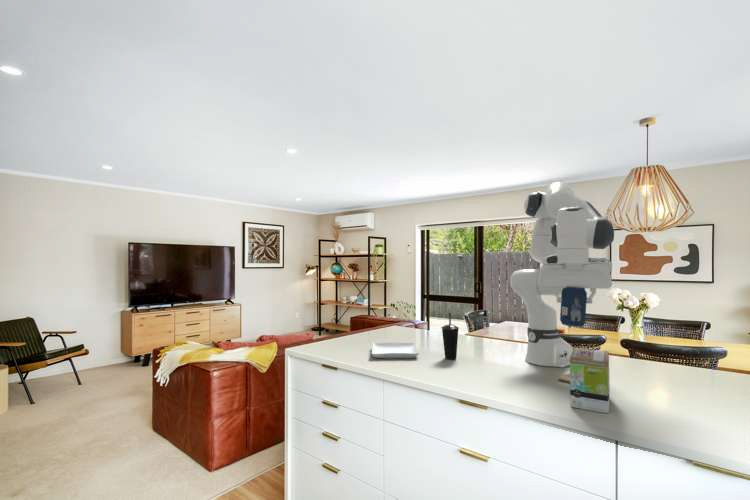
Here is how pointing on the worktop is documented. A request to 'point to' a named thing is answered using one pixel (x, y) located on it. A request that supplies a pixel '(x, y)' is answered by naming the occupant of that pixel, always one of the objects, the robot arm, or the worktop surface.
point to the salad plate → (394, 350)
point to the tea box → (589, 380)
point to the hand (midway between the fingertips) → (574, 302)
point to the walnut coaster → (565, 378)
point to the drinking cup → (450, 340)
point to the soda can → (573, 306)
